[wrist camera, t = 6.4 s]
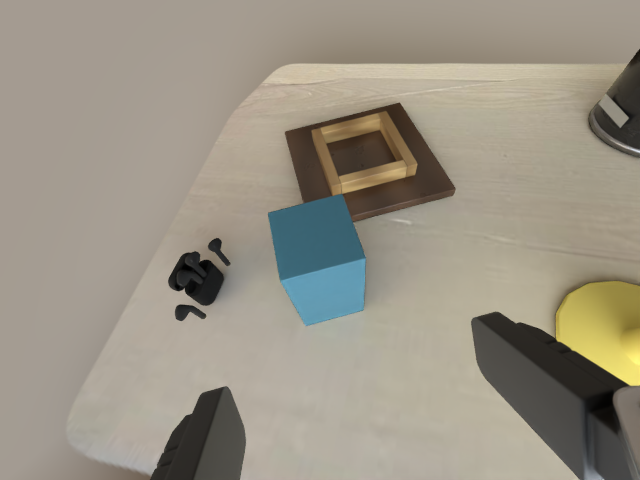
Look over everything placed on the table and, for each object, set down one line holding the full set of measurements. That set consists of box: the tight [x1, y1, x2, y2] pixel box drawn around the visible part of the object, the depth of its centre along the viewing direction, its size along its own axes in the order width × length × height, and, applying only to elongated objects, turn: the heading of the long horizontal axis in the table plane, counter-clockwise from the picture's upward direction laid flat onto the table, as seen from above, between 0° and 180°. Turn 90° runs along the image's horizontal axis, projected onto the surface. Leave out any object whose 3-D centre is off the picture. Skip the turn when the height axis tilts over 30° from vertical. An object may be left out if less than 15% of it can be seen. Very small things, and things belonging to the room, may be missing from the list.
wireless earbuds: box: [168, 238, 230, 321], centre depth 24 cm, size 7×2×5 cm, turn 165°
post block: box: [268, 194, 366, 326], centre depth 21 cm, size 5×5×9 cm
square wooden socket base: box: [285, 103, 456, 222], centre depth 31 cm, size 14×14×2 cm
